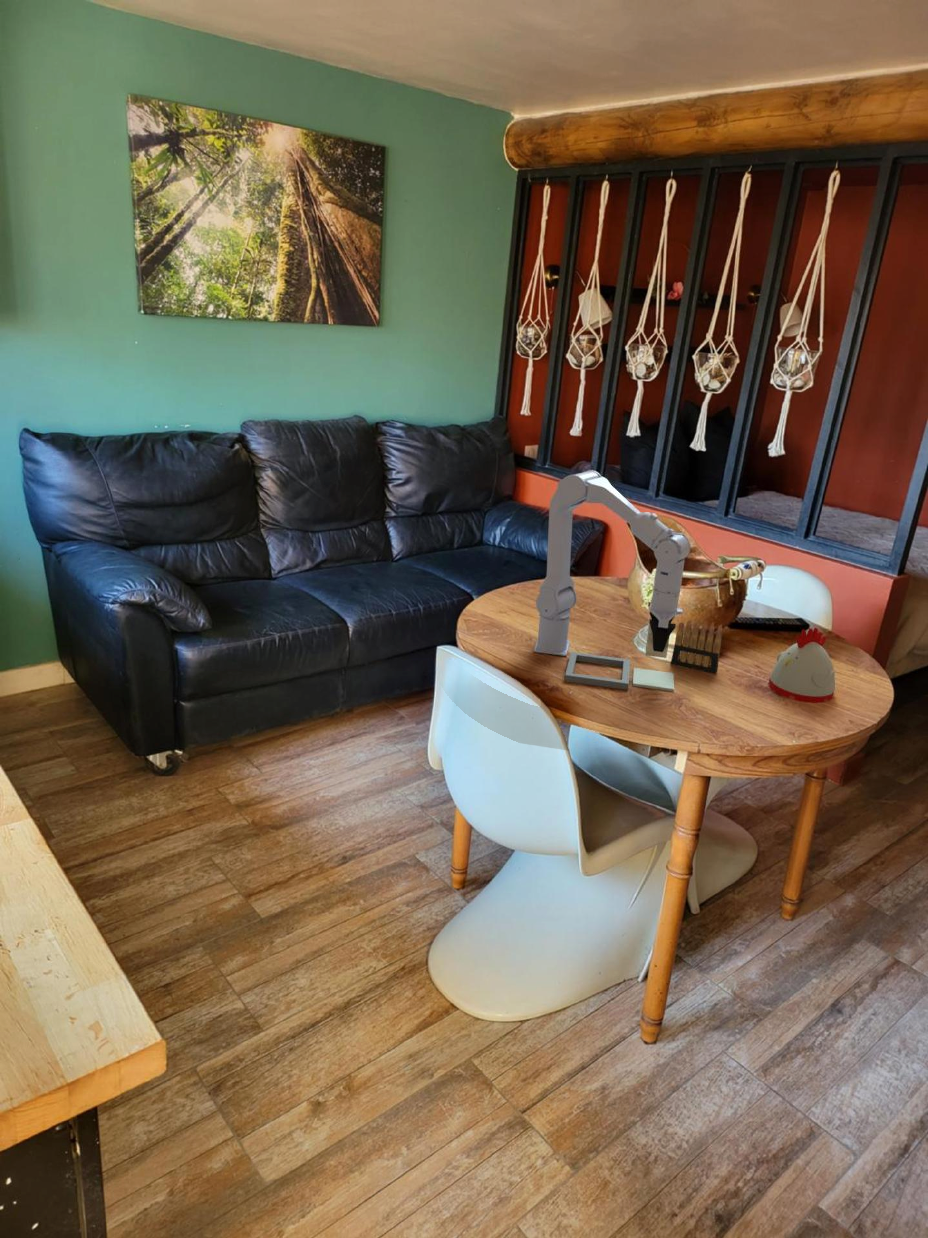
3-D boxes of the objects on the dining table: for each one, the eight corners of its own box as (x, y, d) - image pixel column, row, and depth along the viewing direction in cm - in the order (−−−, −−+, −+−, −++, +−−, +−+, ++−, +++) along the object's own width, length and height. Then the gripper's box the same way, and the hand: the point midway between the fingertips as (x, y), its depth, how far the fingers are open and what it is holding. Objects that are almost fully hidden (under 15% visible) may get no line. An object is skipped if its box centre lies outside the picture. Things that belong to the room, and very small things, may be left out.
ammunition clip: (670, 664, 198) (677, 617, 194) (672, 661, 200) (679, 615, 196) (716, 674, 194) (724, 626, 190) (717, 671, 196) (725, 624, 192)
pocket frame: (570, 657, 199) (571, 651, 198) (629, 665, 196) (630, 659, 196) (564, 681, 186) (565, 675, 185) (627, 689, 183) (628, 683, 183)
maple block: (645, 648, 189) (649, 625, 187) (666, 650, 188) (669, 628, 186) (645, 655, 185) (649, 632, 183) (666, 658, 184) (669, 635, 182)
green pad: (633, 670, 194) (633, 667, 194) (672, 675, 192) (673, 673, 192) (632, 685, 185) (632, 683, 185) (673, 691, 184) (674, 689, 184)
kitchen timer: (755, 680, 193) (767, 619, 187) (802, 674, 197) (815, 615, 192) (797, 706, 180) (811, 642, 175) (846, 699, 185) (861, 637, 180)
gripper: (686, 602, 174) (677, 661, 178) (684, 581, 187) (675, 637, 192) (652, 598, 175) (643, 657, 180) (652, 578, 188) (644, 633, 193)
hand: (658, 646), depth 186 cm, fingers closed on maple block, 4 cm apart
